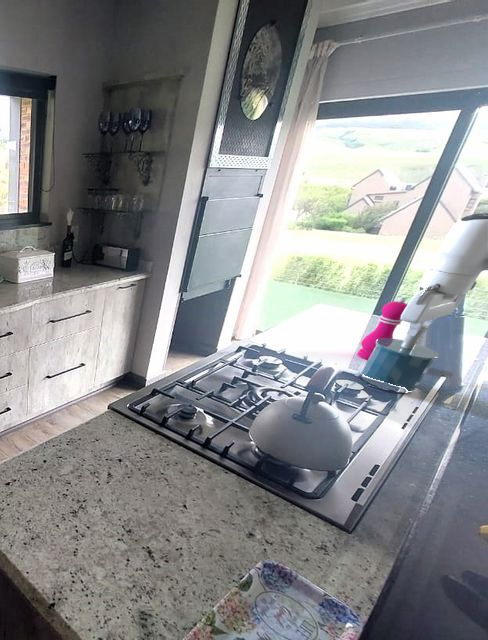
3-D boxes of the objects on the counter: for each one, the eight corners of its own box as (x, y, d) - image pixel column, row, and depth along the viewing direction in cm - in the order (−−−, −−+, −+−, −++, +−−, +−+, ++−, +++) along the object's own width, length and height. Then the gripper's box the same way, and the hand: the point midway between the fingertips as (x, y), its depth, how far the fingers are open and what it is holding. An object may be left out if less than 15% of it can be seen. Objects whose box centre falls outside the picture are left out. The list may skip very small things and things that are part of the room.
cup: (421, 388, 112) (443, 354, 107) (400, 397, 108) (422, 362, 102) (372, 370, 121) (390, 338, 116) (351, 377, 117) (369, 344, 111)
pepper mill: (381, 364, 125) (417, 302, 115) (352, 356, 130) (384, 296, 120) (386, 358, 129) (421, 298, 119) (358, 350, 134) (389, 292, 124)
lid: (445, 357, 107) (463, 330, 103) (423, 365, 102) (440, 337, 98) (388, 339, 117) (402, 314, 113) (365, 345, 112) (379, 319, 108)
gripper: (443, 290, 94) (411, 344, 100) (480, 282, 102) (447, 332, 109) (410, 283, 99) (381, 335, 105) (447, 276, 107) (417, 324, 113)
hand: (415, 333), depth 107 cm, fingers closed on lid, 2 cm apart
